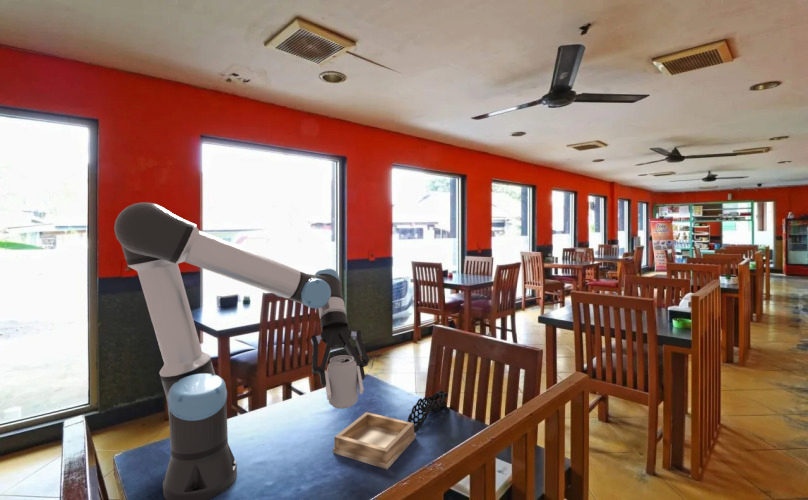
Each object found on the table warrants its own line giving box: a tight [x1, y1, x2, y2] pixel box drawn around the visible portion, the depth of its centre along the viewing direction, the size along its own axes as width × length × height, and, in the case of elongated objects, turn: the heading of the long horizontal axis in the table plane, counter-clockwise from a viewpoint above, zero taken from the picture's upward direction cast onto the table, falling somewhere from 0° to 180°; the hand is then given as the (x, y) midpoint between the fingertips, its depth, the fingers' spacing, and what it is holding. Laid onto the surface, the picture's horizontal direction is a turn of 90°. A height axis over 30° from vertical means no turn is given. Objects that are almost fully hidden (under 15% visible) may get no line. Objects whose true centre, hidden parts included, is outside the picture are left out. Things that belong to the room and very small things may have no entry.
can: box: [326, 354, 359, 409], centre depth 104 cm, size 8×8×12 cm
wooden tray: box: [332, 411, 416, 470], centre depth 107 cm, size 16×16×4 cm
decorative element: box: [406, 390, 449, 433], centre depth 124 cm, size 22×5×6 cm, turn 151°
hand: (345, 394), depth 101 cm, fingers closed on can, 7 cm apart
